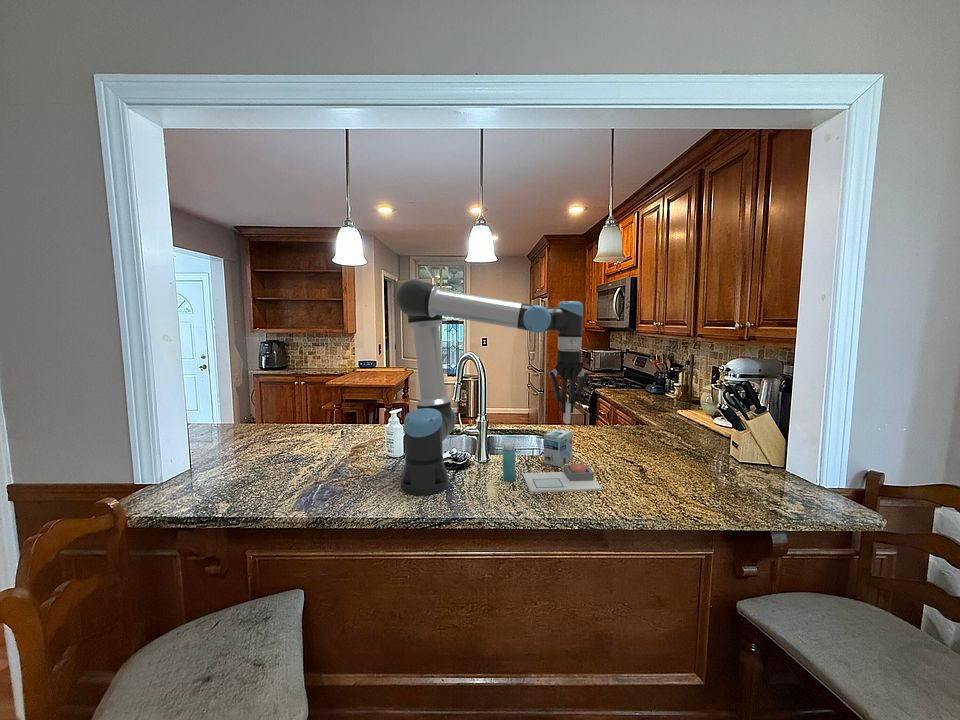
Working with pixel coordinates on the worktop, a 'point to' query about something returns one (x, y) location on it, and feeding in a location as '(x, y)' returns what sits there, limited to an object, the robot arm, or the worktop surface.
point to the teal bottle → (508, 461)
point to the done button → (577, 468)
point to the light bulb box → (557, 447)
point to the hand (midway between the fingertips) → (566, 422)
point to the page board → (561, 481)
